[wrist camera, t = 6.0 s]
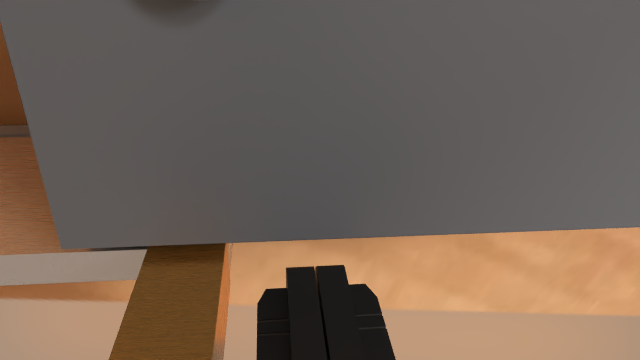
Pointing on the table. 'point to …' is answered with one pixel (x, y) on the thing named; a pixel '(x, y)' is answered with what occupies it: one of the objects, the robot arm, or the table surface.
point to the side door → (116, 270)
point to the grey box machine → (328, 117)
